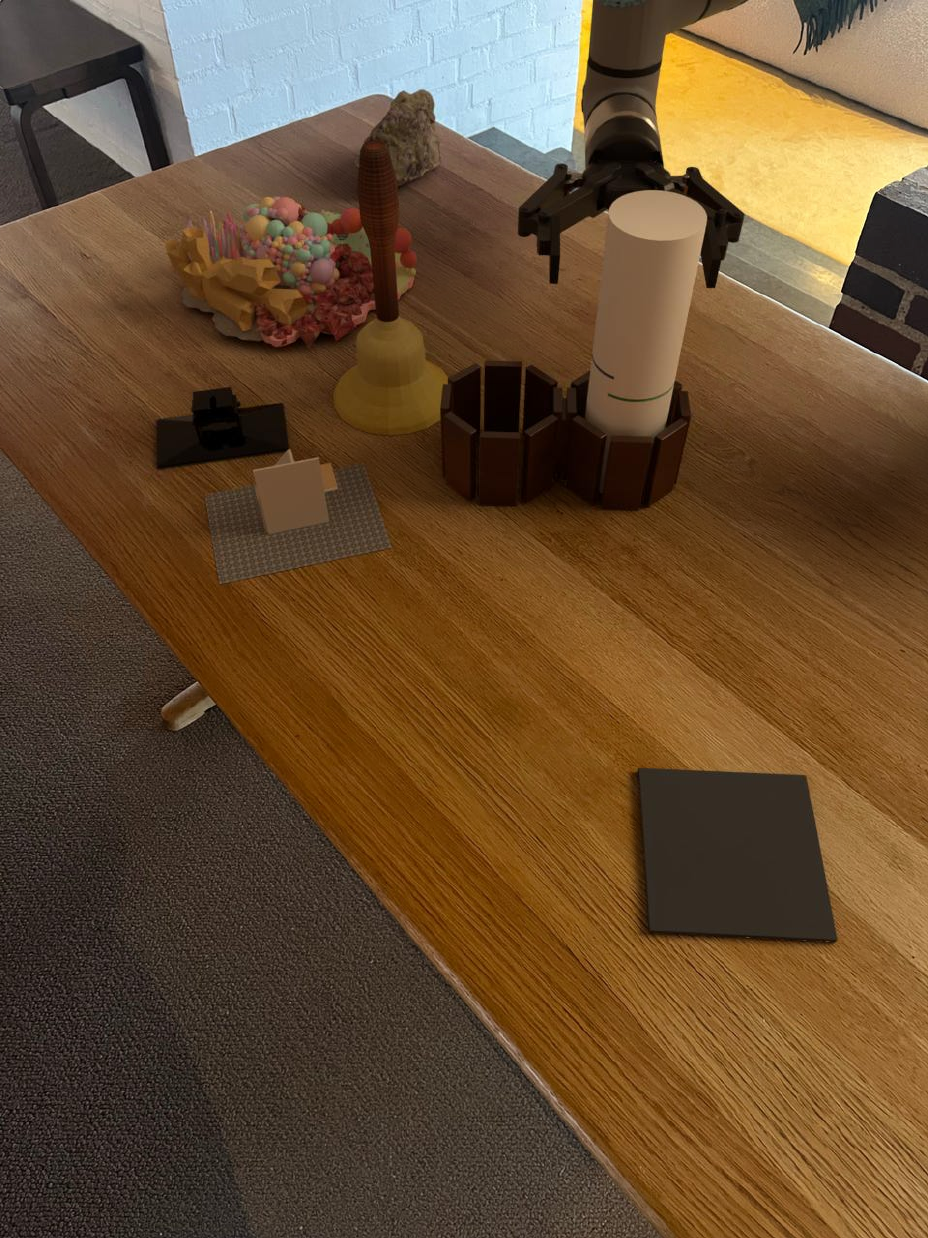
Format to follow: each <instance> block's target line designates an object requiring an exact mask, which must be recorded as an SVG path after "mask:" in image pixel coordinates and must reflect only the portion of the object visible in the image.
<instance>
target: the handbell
mask: <svg viewBox="0 0 928 1238" xmlns="http://www.w3.org/2000/svg"><path fill="white" fill-rule="evenodd" d="M359 152H360V161H359V171H357V183H356V185H357V186H356V187H357V195H358V196H357V197H358V207H359V208H358V210H359V211H360V218H361V223H362V226H363V228H364V231H365V233H366V235H367V238H368V241H369V245H370V252H371V263H372V274H373V285H374V296H375V308H376V310H375V319H373V320H372V321H369V322H368V323H367V324H365V325H364V327H362V328H361V330H359V332H358V334H357V337H356V340H355V356H356V357H355V358H356V364H355V365H353V366H352V367H350V368H349V369H348V370H347V371H345V372H344V374H343V375H342V376H340V378H339V380H338V381H337V384H336V386H335V389H334V391H333V394H332V401H333V408H334V409H335V411H336V413H337V414H338V416H339V417H340V419H341V420H343V421H344V422H346V423H347V424H348V425H349V426H351V427H353V428H354V429H357V430H360V431H362V432H365V433H368V434H373V435H380V436H381V435H382V436H389V437H390V436H400V435H410V434H414V433H417V432H419V431H422V430H426V429H429V428H430V427H432V426H433V425H435V424H436V423H438V422H441V420H440V405H441V396H442V386H443V384H448V378H449V377H448V375H447V374H446V373H445V372H444V370H443V369H442V368H440V367H439V366H437V364H435V363H433V362H431V361H430V360H427V359H426V350H425V343H424V336H423V334H422V332H421V331H420V329H419V328H418V327H417V325H415V324H414V323H412V322H411V321H409V320H407V319H404V318H401V316H400V309H399V307H400V306H399V300H398V292H397V277H396V263H395V236H396V232H397V228H398V227H399V224H400V201H399V186H397V179H396V175H395V171H394V168H393V164H392V160H391V156H390V152H389V148H388V147H387V145H386V144H385V143H384V142H383V141H380V140H369V141H367V142H365V143H364V142H363V144H362V146H361V147H360V149H359Z"/></svg>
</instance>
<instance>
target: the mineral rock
mask: <svg viewBox="0 0 928 1238" xmlns="http://www.w3.org/2000/svg"><path fill="white" fill-rule="evenodd" d="M435 105H436V104H435V99H434V97H433V95H432V93H431V92H430V91H427V90H426V89H424V88H421V89H418V90H416V91H414V92H413V93H409V92H408V91H406V90H405V89H404V90H401V91H399V92H398V94H397V95H396V96H395V98H394V99H393V100H392V101H391V102H390V106H389V110H388V111H387V112H386V114H385V116H384V117H383V118H381V120H380V121H379V122H378V123H377V124H376V125H375V126H374V127H373V129H372V130H371V132H370V134H369V136H367V138H365V140H364V141H363V144H364V143H365V142H367V141H369V140H380V141H383V142H384V143H385V144H386V145H387V147H388V148H389V152H390V156H391V160H392V164H393V168H394V171H395V175H396V179H397V186H398V187H401V186H404V185H405V184H406V183H409V182H411V181H413V180H416V179H418V178H421V177H423V176H424V175H425V174H426V173H428V172H432V170H433V169H436V168H437V167H439V165H440V163H441V162H442V161H441V151H440V144H441V142H440V140H439V138H438V135H437V133H436V128H435V127H436V126H435V123H436V115H435ZM359 161H360V151H359V152H358V153H357V155H356V158H355V165H356V167H357V170H358V171H359ZM358 171H357V172H358Z"/></svg>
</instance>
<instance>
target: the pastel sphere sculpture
mask: <svg viewBox="0 0 928 1238" xmlns="http://www.w3.org/2000/svg"><path fill="white" fill-rule="evenodd" d="M242 217H243V219H244V220H245V221H246V223H245V224H244V225H243V226H242V227H239V226H238V224H237V223H236V222H235V221H234V222H233V219H232V216H231V215H230V213H229V212H227V214H226V220H223V221H218V225H216V223H215V217H214V213H213V211H212V210H209V224H207V221H206V219H205V216H204V215H203V216H202V224H201V226H199V227H195V226H193V222H192V221H193V220H192V217H190V219H189V221H188V223H187V224H186V228H184V229H182V230H181V239H180V241H177V240H175V239H171V238H168V240H167V242H166V244H165V245H164V248H165V251H166V253H167V256H168V259H169V261H170V262H171V265H172V268H173V270H174V271H176V273H177V274H178V276H179V278H180V280H181V282H182V283H183V284H184V288H183V291H182V292H181V294H180V298H182V299H183V300H182V303H183V304H184V305H185V306H186V308H193V309H194V308H195V309H199V310H200V311H201V312H203V313H204V312H205V313H213V316H212V318H211V320H212V322H213V323H214V328H215V329H216V330H218V331H219V332H220V333H221V334H222V335H223V336H226V337H227V336H228V337H236V338H238V339H240V340H243V341H253V342H262V341H264V343H266V344H269V345H272V346H273V347H275V348H282V347H285V346H287V345H290V344H292V343H295V342H297V339H302V341H303V342H304V344H305V345H306V347H307V348H308V349H310V348H312V345H313V344H314V343H315V341H316V340H317V338H318V337H319V335H320V333H322V334H324V335H333V337H334V339H335V341H339V340H340V339H341V338H343V337H345V336H347V335H348V334H349V333H351V332H352V331H354V330H355V329H357V326H358V325H360V324H361V323H364V322H366V320H367V318H368V317H367V316H368V313H369V311H372V310H373V311H376V308H375V296H374V285H373V274H372V263H371V252H370V245H369V241H368V238H367V235H366V233H365V231H364V228H363V226H362V223H361V218H360V209H359V208H355V207H347V208H345V209H344V210H343V211H342V212H341V213H339V212H337V213H335V212H334V211H331V212H330V210H324V208H323V209H322V210H321V211H315V212H314V211H310V212H309V211H307V208H306V207H305V206H304V205H302V204H301V203H297V202H296V201H295V200H294V199H293V198H290V197H287V196H282V197H280V196H277V195H276V196H273V197H270V196H264V197H263V198H262V199H261V201H260V204H258V203H251V204H248V205H247V206H246V207H244V208H243V211H242ZM232 222H233V223H234V224H233V223H232ZM208 225H209V226H208ZM216 228H217V230H216ZM217 231H218V234H217ZM412 242H413V240H412V235H411V233H410V231H409V230H408V229H406V228H405V227H401V226H398V228H397V232H396V236H395V263H396V277H397V292H398V301H399V300H400V299H401V296H402V295H403V294H405V293H406V292H407V290H409V289H411V288H412V287H413V285H414V281H415V276H416V275H417V270H416V268H414V267H415V266H416V264H417V261H418V258H417V254H416V252H414V251H412V250H411V249H410V248H411V246H412Z"/></svg>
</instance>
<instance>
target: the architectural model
mask: <svg viewBox="0 0 928 1238" xmlns="http://www.w3.org/2000/svg"><path fill="white" fill-rule="evenodd" d="M252 472H253V478H254V483H255V484H252V485H248V486H242V487H237V488H233V489H226V490H222V491H216V492H211V493H206V494H204V495H203V496H204V501H205V506H206V507H205V508H206V512H207V519H208V525H209V530H210V536H211V537H210V538H211V542H212V543H211V544H212V549H213V554H214V561H215V565H216V572H217V578H218V584H219V585H223V584H229V583H233V582H237V581H242V580H248V579H251V578H252V579H253V578H256V577H261V576H267V575H270V574H271V575H272V574H275V573H279V572H284V571H289V570H293V569H298V568H302V567H307V566H313V565H318V564H322V563H327V562H331V561H335V560H340V559H341V560H342V559H345V558H349V557H355V556H359V555H363V554H368V553H373V552H378V551H382V550H388V549H392V548H393V547H392V543H391V539H390V537H389V533H388V531H387V527H386V525H385V521H384V519H383V516H382V513H381V509H380V506H379V504H378V501H377V497H376V494H375V491H374V488H373V485H372V482H371V479H370V476H369V473H368V470H367V467H366V464H365V463H364V462H363V463H358V464H354V465H348V466H344V467H343V466H342V467H339V468H338V467H337V468H334V469H333V466H332V462H328V463H323V464H321V463H320V457H319V456H318V457H316V455H312V457H311V458H307V459H302V460H301V459H300V460H297V461H294V457H293V453H292V450H291V448H289V449H288V450H287V451H286V452H284V453H283V454H282V456H281V457H280V458H279V459H278V460H277V462H275V463H274V464H273V465H272V466H267V467H266V466H265V467H261V468H255V469H252Z"/></svg>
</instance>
